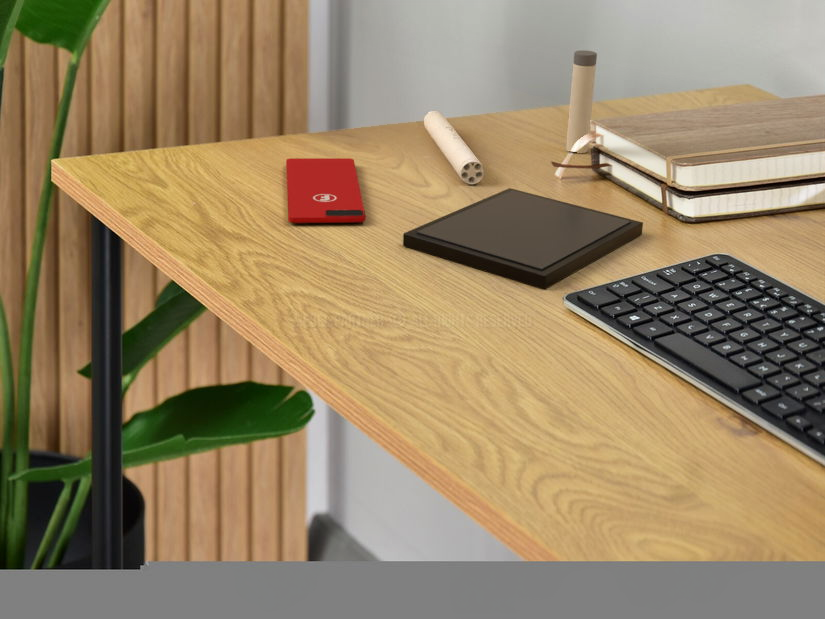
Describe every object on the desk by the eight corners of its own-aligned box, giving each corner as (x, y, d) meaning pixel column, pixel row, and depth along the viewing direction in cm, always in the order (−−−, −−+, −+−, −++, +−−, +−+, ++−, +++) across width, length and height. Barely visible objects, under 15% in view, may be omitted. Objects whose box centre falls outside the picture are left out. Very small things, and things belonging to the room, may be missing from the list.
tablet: (508, 199, 97) (509, 186, 97) (642, 234, 91) (643, 221, 90) (402, 246, 87) (403, 231, 87) (544, 289, 80) (545, 274, 80)
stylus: (572, 146, 112) (581, 49, 108) (591, 150, 111) (601, 52, 107) (561, 150, 110) (570, 52, 107) (580, 154, 109) (589, 56, 106)
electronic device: (286, 163, 104) (288, 223, 90) (286, 157, 103) (288, 216, 90) (353, 163, 104) (365, 223, 91) (353, 157, 104) (365, 216, 90)
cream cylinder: (419, 126, 116) (419, 102, 115) (440, 126, 117) (441, 102, 116) (459, 185, 100) (460, 158, 99) (484, 184, 100) (485, 157, 100)
